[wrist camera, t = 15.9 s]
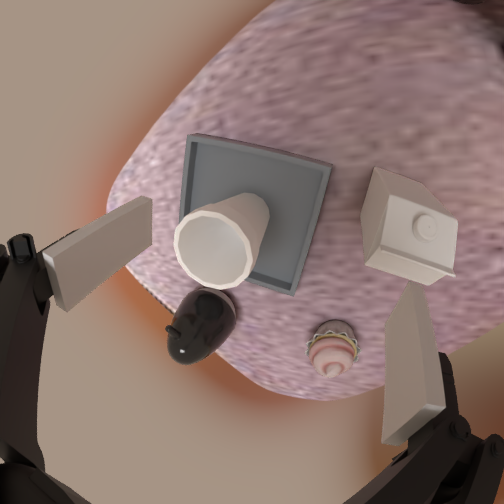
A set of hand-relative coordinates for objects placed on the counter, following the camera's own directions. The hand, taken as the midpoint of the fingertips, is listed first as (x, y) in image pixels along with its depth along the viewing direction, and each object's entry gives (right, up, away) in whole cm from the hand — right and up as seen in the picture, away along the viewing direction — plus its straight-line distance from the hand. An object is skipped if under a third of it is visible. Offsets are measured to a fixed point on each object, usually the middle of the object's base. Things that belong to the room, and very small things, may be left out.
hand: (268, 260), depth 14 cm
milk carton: (+18, +8, +23) cm, 30 cm away
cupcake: (+14, -14, +35) cm, 40 cm away
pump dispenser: (-7, -9, +40) cm, 42 cm away
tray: (-1, +6, +30) cm, 31 cm away
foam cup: (-1, +6, +29) cm, 30 cm away
